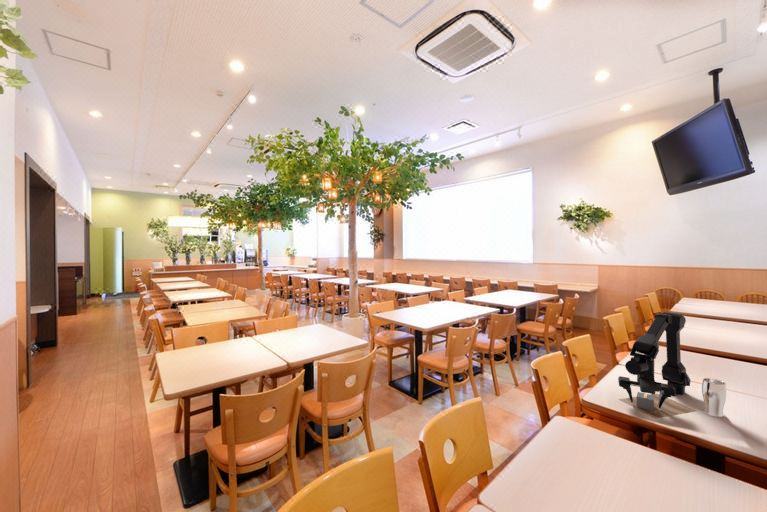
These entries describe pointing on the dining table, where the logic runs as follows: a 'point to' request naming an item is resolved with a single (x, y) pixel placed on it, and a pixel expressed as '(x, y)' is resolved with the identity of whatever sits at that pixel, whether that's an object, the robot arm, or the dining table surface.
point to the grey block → (645, 401)
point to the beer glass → (714, 396)
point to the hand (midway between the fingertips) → (645, 405)
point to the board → (666, 409)
